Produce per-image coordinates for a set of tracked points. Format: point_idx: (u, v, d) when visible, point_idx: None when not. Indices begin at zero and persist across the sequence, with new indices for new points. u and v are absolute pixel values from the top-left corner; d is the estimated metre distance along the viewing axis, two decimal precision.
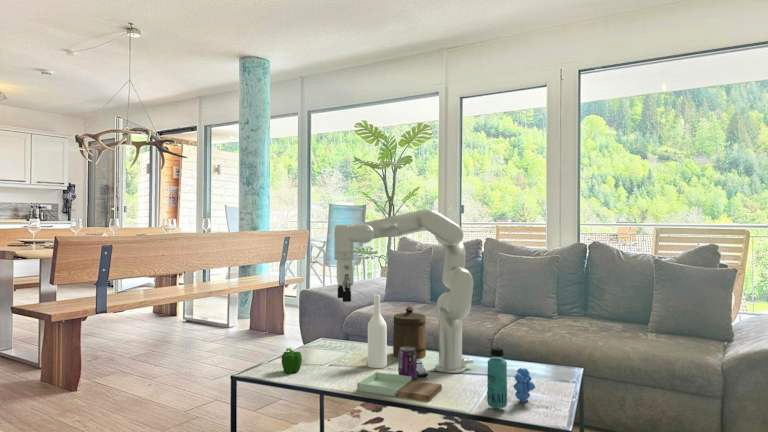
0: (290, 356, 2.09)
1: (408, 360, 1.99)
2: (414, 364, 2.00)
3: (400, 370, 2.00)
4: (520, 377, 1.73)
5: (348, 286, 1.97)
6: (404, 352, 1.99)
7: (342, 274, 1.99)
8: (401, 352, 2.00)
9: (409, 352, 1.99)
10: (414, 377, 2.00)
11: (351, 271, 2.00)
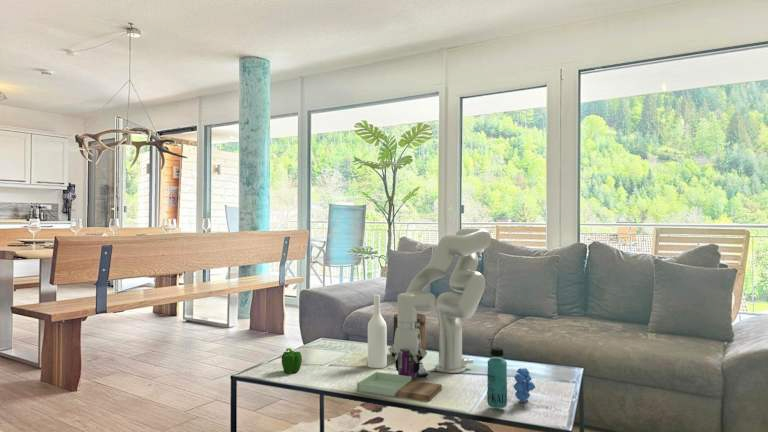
0: (290, 356, 2.09)
1: (408, 359, 1.99)
2: None
3: (400, 370, 2.00)
4: (520, 377, 1.73)
5: (423, 357, 1.99)
6: (404, 352, 1.99)
7: (417, 344, 1.99)
8: (401, 352, 2.00)
9: (409, 352, 1.99)
10: (414, 377, 2.00)
11: (420, 339, 2.02)
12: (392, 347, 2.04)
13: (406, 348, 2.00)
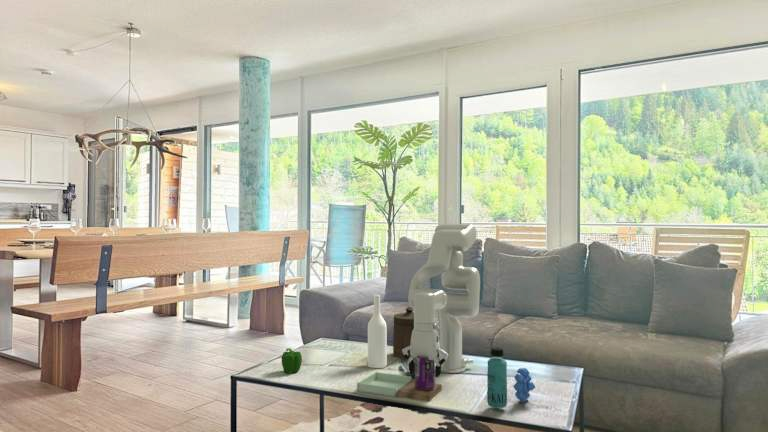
0: (290, 356, 2.09)
1: (426, 367, 1.82)
2: (432, 372, 1.83)
3: (417, 378, 1.83)
4: (520, 377, 1.73)
5: (445, 359, 1.82)
6: (421, 359, 1.83)
7: (435, 347, 1.82)
8: (418, 359, 1.83)
9: (427, 359, 1.82)
10: (432, 386, 1.83)
11: (439, 342, 1.85)
12: (407, 349, 1.88)
13: (424, 352, 1.83)
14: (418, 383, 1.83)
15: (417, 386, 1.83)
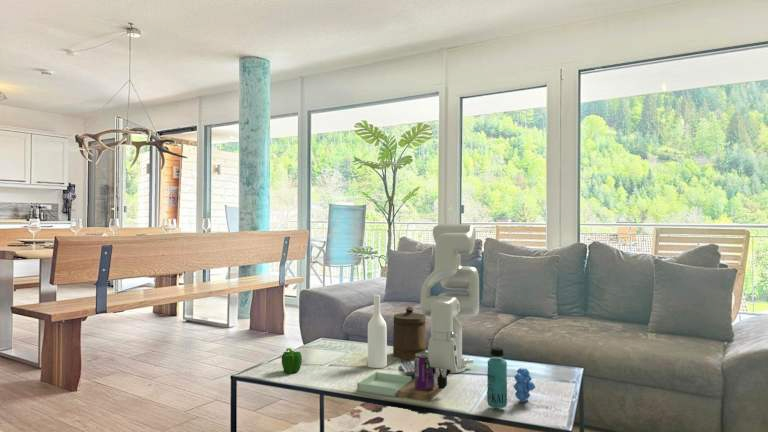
0: (290, 356, 2.09)
1: (425, 367, 1.82)
2: (432, 371, 1.83)
3: (417, 378, 1.83)
4: (520, 377, 1.73)
5: None
6: (420, 359, 1.83)
7: (453, 356, 1.79)
8: (417, 359, 1.83)
9: (426, 358, 1.82)
10: (432, 386, 1.83)
11: (456, 351, 1.82)
12: None
13: (441, 361, 1.80)
14: (418, 383, 1.83)
15: (417, 386, 1.83)
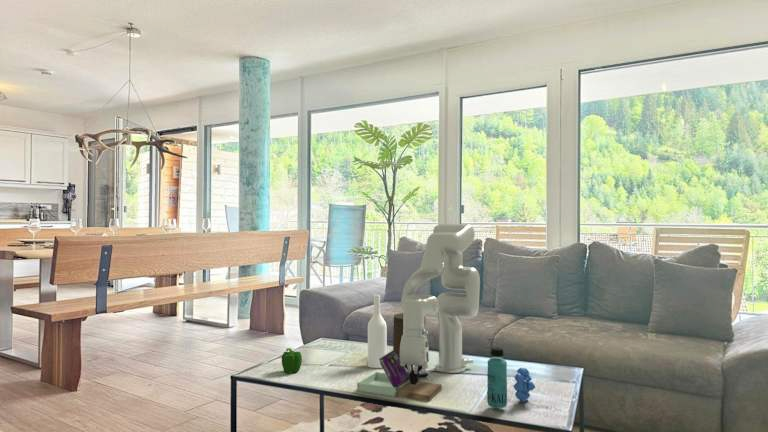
0: (290, 356, 2.09)
1: (391, 362, 1.88)
2: (399, 364, 1.89)
3: (390, 378, 1.88)
4: (520, 377, 1.73)
5: None
6: (384, 358, 1.89)
7: (424, 353, 1.83)
8: (381, 360, 1.89)
9: (388, 355, 1.89)
10: (407, 376, 1.87)
11: (428, 348, 1.87)
12: None
13: (413, 357, 1.84)
14: (393, 381, 1.87)
15: (394, 385, 1.87)
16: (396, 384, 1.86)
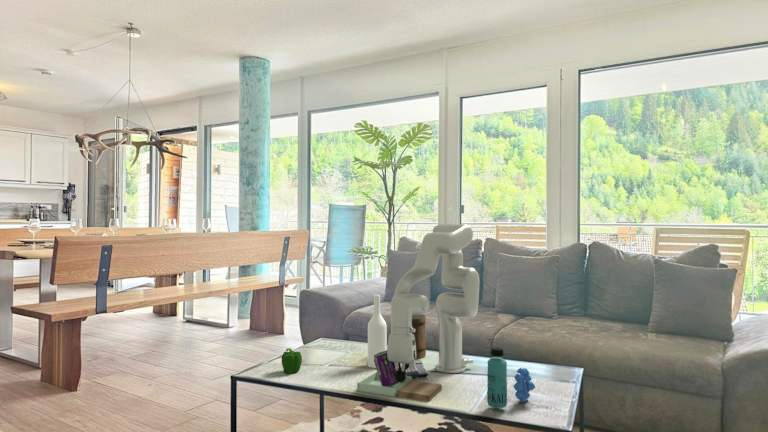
0: (290, 356, 2.09)
1: (384, 363, 1.88)
2: (392, 366, 1.89)
3: (380, 377, 1.89)
4: (520, 377, 1.73)
5: None
6: (378, 357, 1.89)
7: (411, 351, 1.85)
8: (375, 358, 1.90)
9: (383, 355, 1.89)
10: (396, 380, 1.88)
11: (415, 346, 1.88)
12: None
13: (400, 355, 1.86)
14: (382, 381, 1.89)
15: (383, 384, 1.89)
16: (385, 385, 1.88)
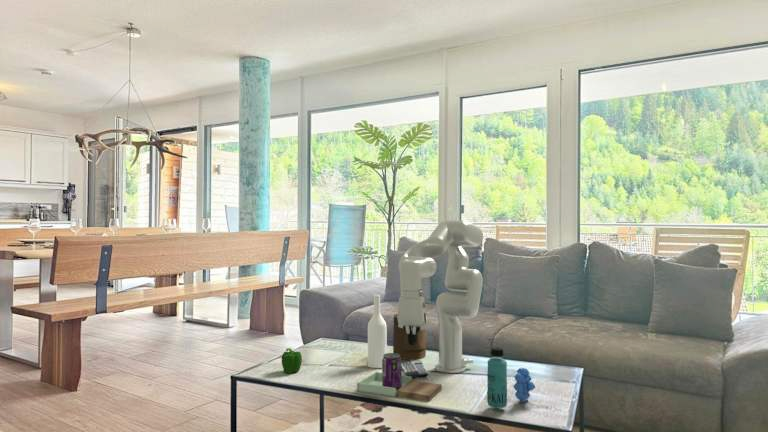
0: (290, 356, 2.09)
1: (392, 367, 1.87)
2: (398, 372, 1.88)
3: (384, 378, 1.89)
4: (520, 377, 1.73)
5: None
6: (388, 359, 1.88)
7: (422, 314, 1.85)
8: (385, 359, 1.89)
9: (393, 359, 1.88)
10: (398, 386, 1.88)
11: None
12: None
13: (411, 318, 1.86)
14: (385, 383, 1.88)
15: None
16: None
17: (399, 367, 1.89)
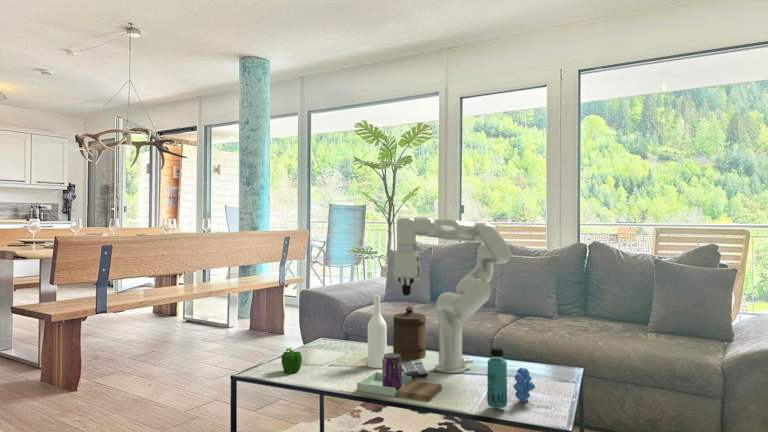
0: (290, 356, 2.09)
1: (392, 367, 1.87)
2: (398, 372, 1.88)
3: (384, 378, 1.89)
4: (520, 377, 1.73)
5: None
6: (388, 359, 1.88)
7: (416, 266, 2.03)
8: (385, 359, 1.89)
9: (393, 359, 1.88)
10: (398, 386, 1.88)
11: (419, 263, 2.06)
12: None
13: (405, 270, 2.04)
14: (385, 383, 1.88)
15: None
16: None
17: (399, 367, 1.89)
